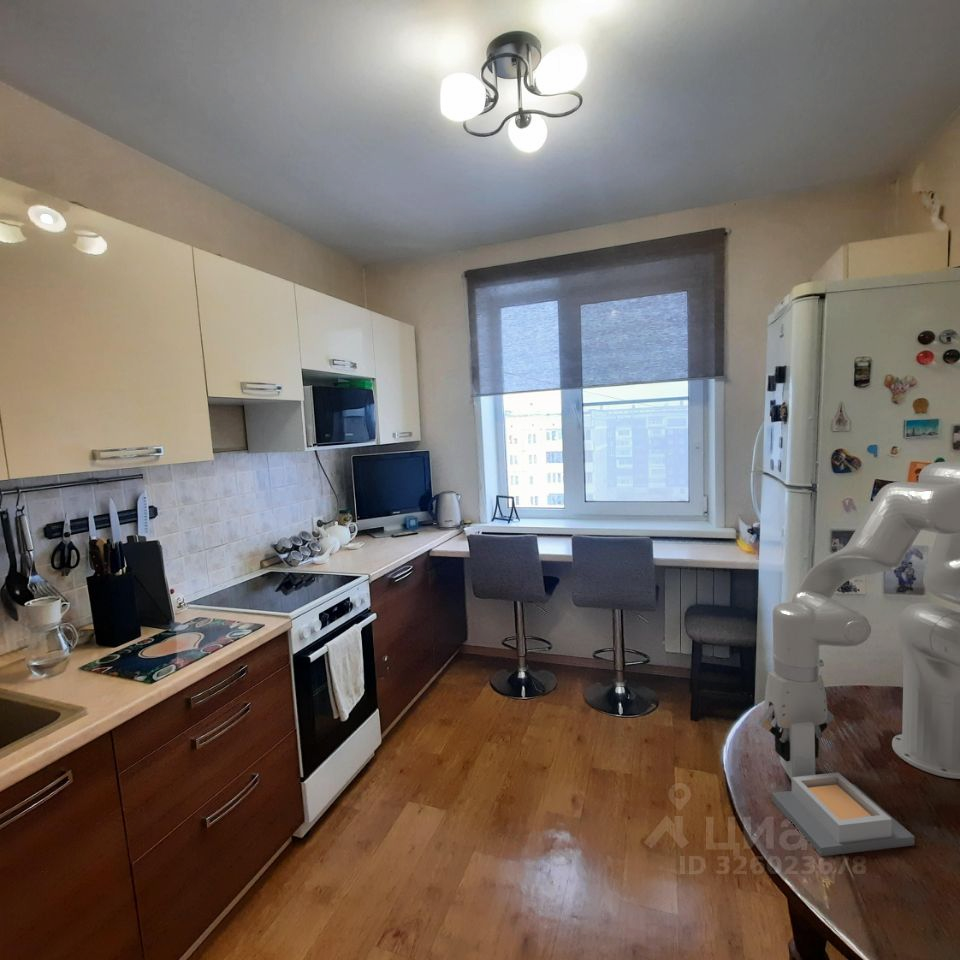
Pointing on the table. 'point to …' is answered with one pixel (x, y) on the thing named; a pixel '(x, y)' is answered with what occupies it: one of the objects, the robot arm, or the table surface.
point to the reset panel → (829, 829)
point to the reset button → (839, 802)
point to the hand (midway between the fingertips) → (796, 754)
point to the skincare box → (800, 750)
